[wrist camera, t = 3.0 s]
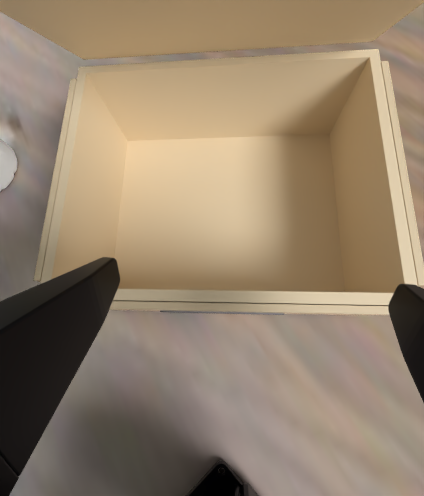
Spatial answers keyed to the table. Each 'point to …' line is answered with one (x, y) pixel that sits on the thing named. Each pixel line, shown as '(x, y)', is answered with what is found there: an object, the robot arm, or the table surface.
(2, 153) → the water bottle
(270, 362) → the table surface
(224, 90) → the carton
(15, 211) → the table surface
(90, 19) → the far flap
